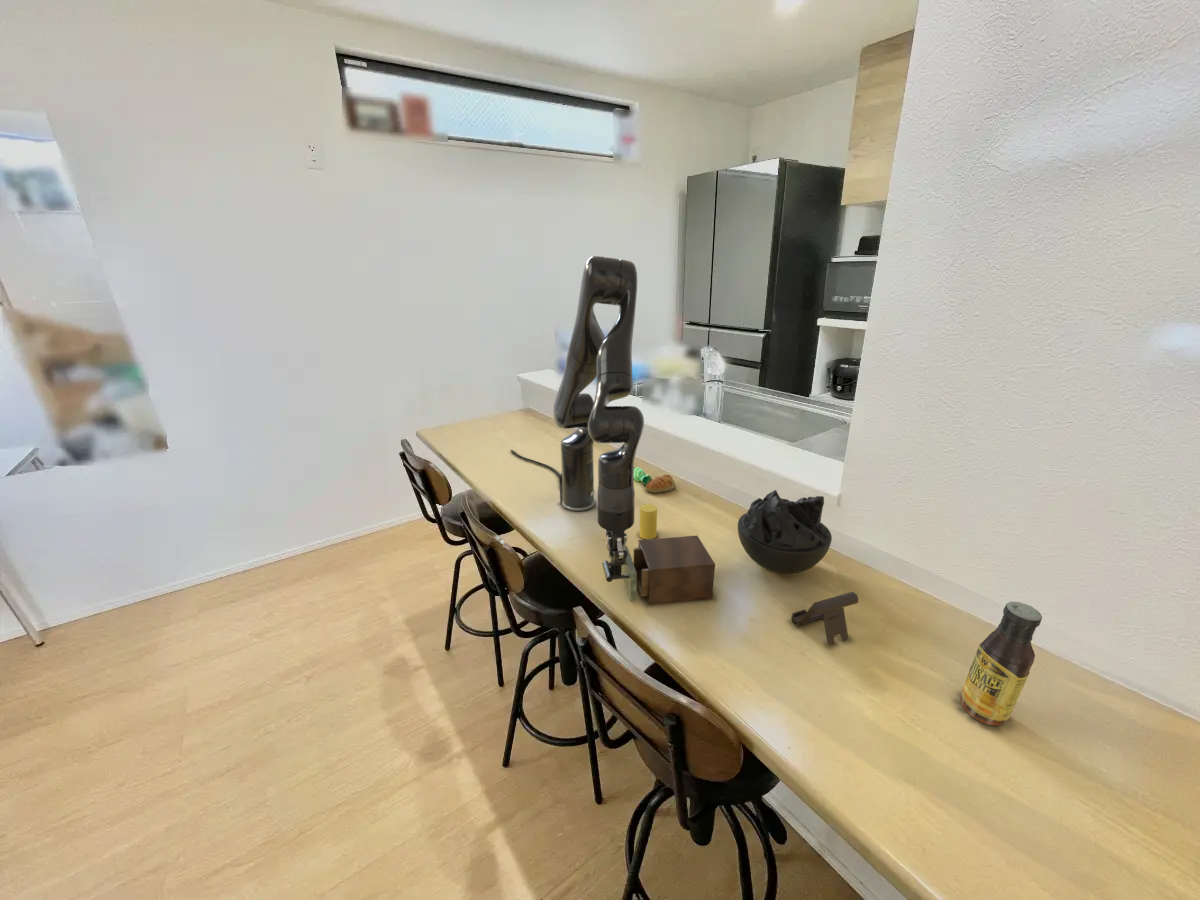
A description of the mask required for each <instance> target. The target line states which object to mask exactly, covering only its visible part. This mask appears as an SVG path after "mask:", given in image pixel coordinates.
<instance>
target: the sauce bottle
mask: <svg viewBox="0 0 1200 900" xmlns="http://www.w3.org/2000/svg"><path fill="white" fill-rule="evenodd" d="M1002 612H1003V615H1002V618H1001V620H1000V623H999V624H998V626H997V627H996V628H995V629H994V630H993V631H992V632H991V633H989V634H988V636H986V637H985V639H983V640H982V642H980V643H979V646H978V648H977V650H976V653H975V656H974V658H973V661H972V663H971V665H970V668H969V671H968V673H967V676H966V679H965V682H964V683H963V686H962V689H961V695H960V704H961V707H962V709H963V710H964V711H965V712H966V713H968V714H969V716H971V717H972V718H974V719H975V720H977V721H978V722H980V723H982V724H984V725H990V726H993V727H995V726H996V727H999V726H1002V725H1004V724H1005V723H1006V722H1007V721H1008V720H1009V719H1010V718H1011V715H1012V713H1013V711H1014V709H1015V707H1016V704H1017V702H1018V700H1019V698H1020V696H1021V693H1022V691H1023V689H1024V686H1025V684H1026V682H1027V680H1028V677H1029V676H1030V671H1031V668H1032V666H1033V664H1034V662H1035V659H1036V654H1035V651H1034V649H1033V645H1032V640H1033V638H1034V637H1033V636H1034V634H1035V632H1036V629H1037V628H1038V627H1039V626H1040V625H1041V622H1042V620H1043V616H1042V613H1040V611H1038V609H1036V608H1035V607H1033V606H1032V605H1029V604H1027V603H1023V602H1021V601H1009V602H1007V603H1006V604H1005V606H1004V608H1003V610H1002Z"/></svg>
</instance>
